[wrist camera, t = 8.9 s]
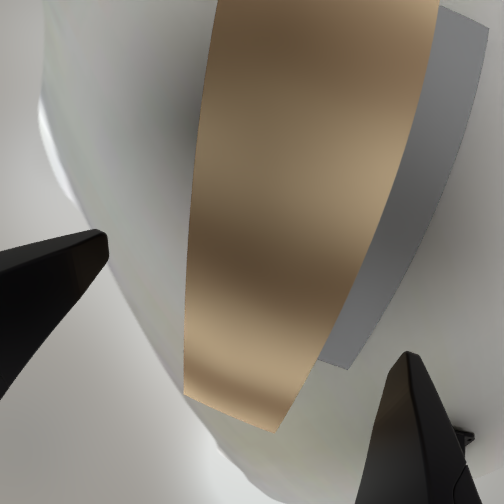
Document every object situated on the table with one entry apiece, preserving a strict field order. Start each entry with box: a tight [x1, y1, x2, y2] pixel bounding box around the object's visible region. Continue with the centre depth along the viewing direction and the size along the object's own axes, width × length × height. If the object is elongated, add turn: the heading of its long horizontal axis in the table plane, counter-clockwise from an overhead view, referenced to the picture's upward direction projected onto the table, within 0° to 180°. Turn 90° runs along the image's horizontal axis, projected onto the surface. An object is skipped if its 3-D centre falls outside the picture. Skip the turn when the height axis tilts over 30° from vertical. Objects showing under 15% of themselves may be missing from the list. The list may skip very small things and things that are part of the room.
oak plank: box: [184, 0, 440, 434], centre depth 11 cm, size 18×5×4 cm, turn 170°
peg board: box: [317, 5, 489, 370], centre depth 14 cm, size 22×12×5 cm, turn 170°
